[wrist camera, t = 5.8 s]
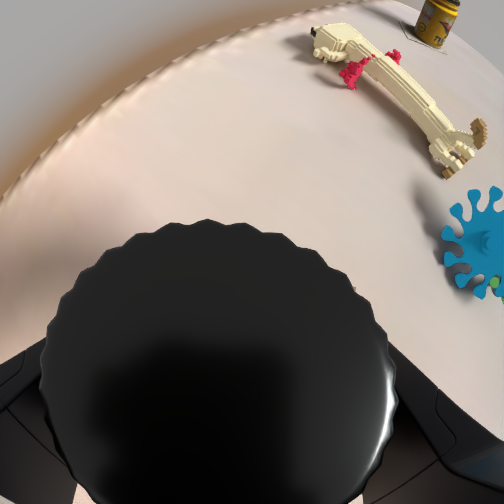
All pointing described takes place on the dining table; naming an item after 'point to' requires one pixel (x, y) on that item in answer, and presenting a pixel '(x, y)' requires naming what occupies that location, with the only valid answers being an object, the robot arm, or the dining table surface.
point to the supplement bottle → (217, 373)
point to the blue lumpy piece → (480, 244)
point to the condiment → (433, 23)
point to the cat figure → (398, 91)
